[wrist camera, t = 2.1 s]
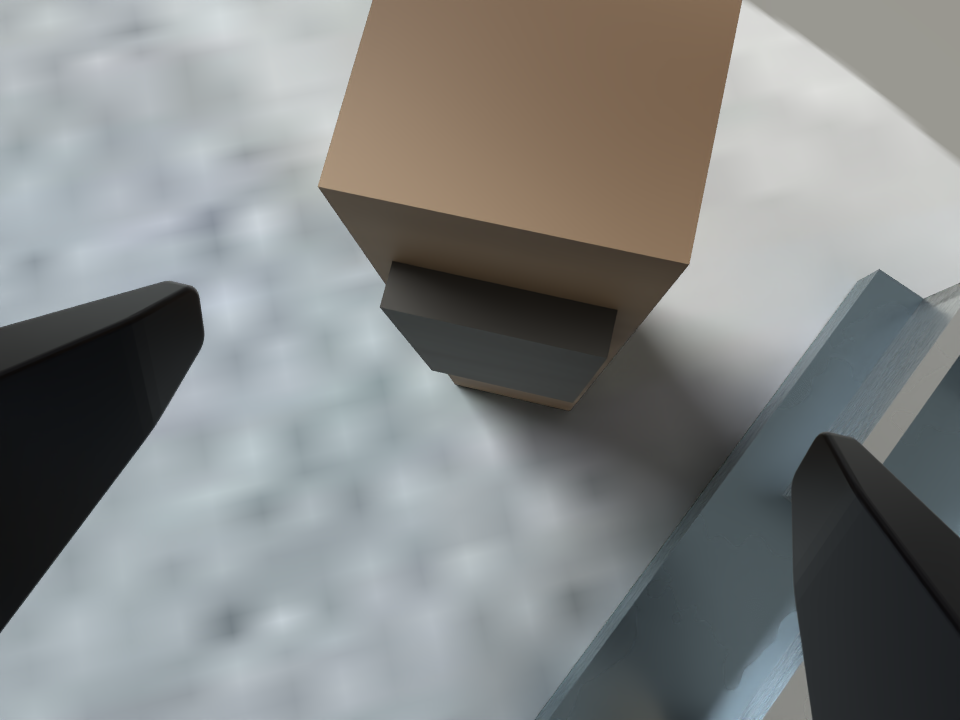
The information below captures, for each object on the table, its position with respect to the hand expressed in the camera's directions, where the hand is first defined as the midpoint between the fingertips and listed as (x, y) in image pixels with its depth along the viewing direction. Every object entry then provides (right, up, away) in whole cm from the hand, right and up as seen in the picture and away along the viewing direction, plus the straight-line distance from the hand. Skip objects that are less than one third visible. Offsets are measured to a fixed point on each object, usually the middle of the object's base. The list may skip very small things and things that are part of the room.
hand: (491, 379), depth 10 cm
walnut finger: (+1, +1, +11) cm, 11 cm away
